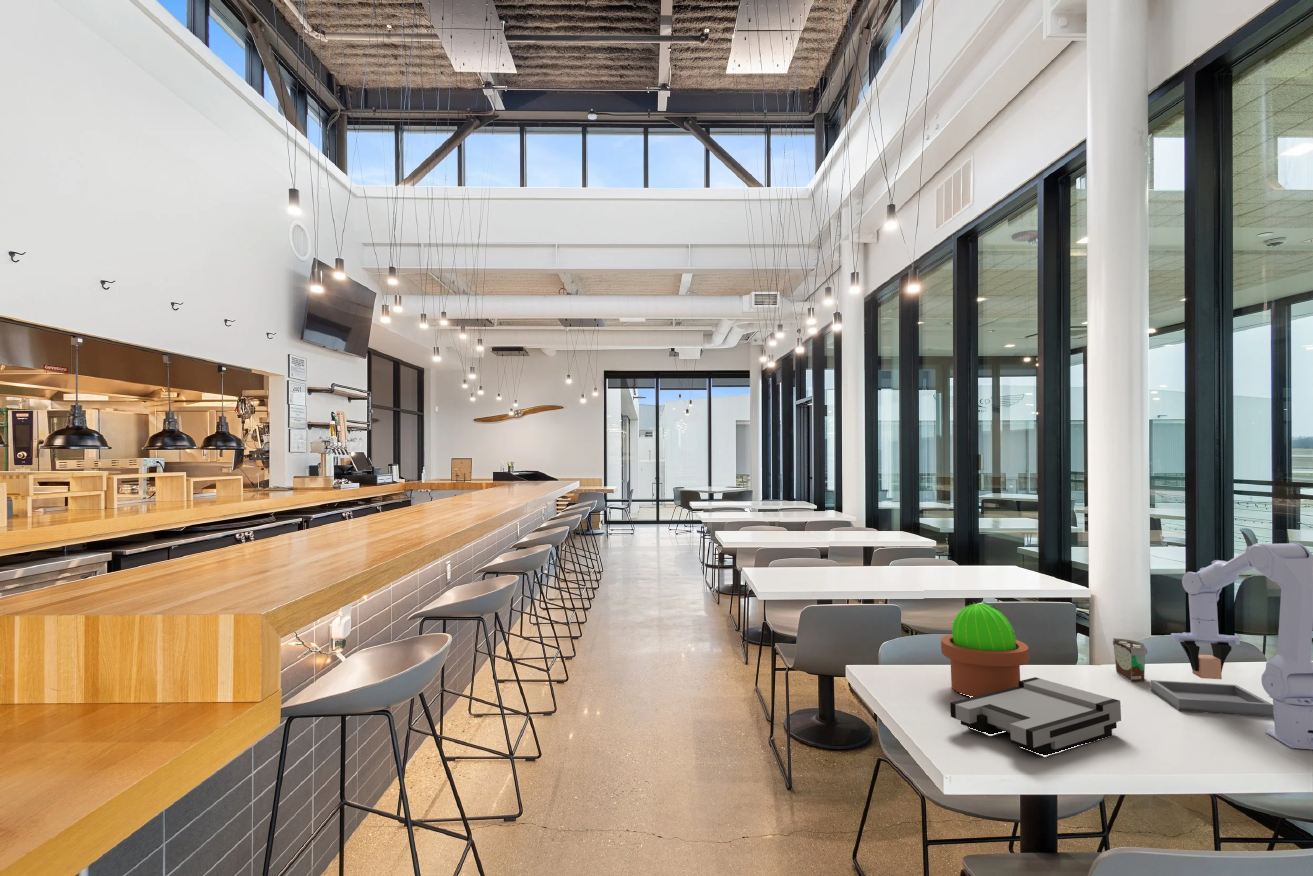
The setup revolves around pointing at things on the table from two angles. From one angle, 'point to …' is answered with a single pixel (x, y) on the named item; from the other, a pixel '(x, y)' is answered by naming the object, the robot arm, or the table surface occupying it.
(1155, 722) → the table surface
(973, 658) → the potted cactus
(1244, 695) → the bin
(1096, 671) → the table surface
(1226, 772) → the table surface
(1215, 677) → the terracotta block
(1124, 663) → the food container
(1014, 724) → the gray blocky slab
